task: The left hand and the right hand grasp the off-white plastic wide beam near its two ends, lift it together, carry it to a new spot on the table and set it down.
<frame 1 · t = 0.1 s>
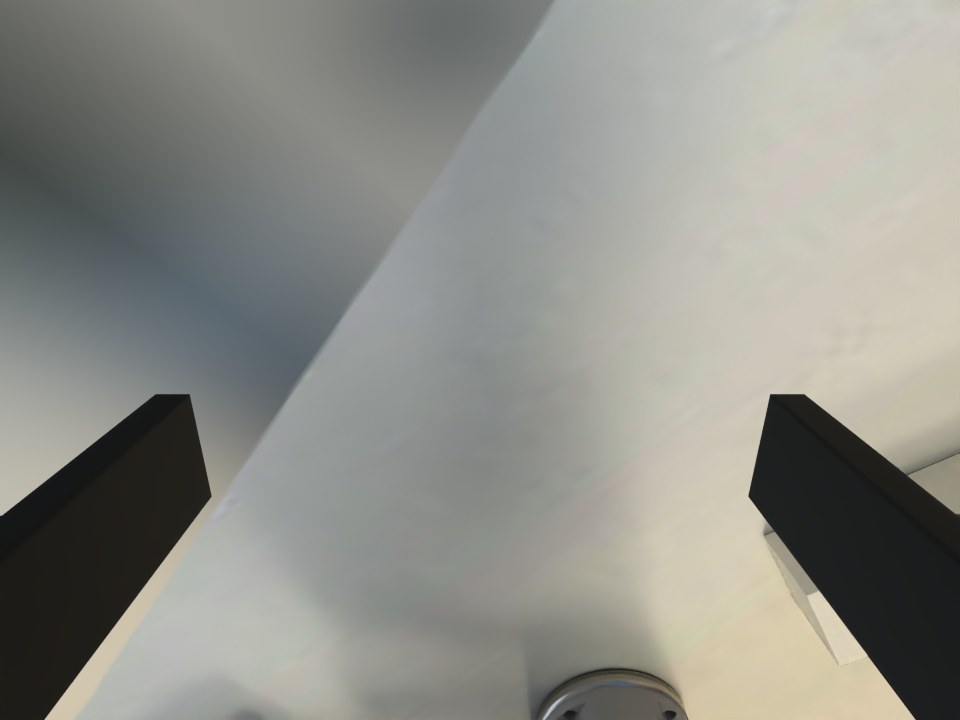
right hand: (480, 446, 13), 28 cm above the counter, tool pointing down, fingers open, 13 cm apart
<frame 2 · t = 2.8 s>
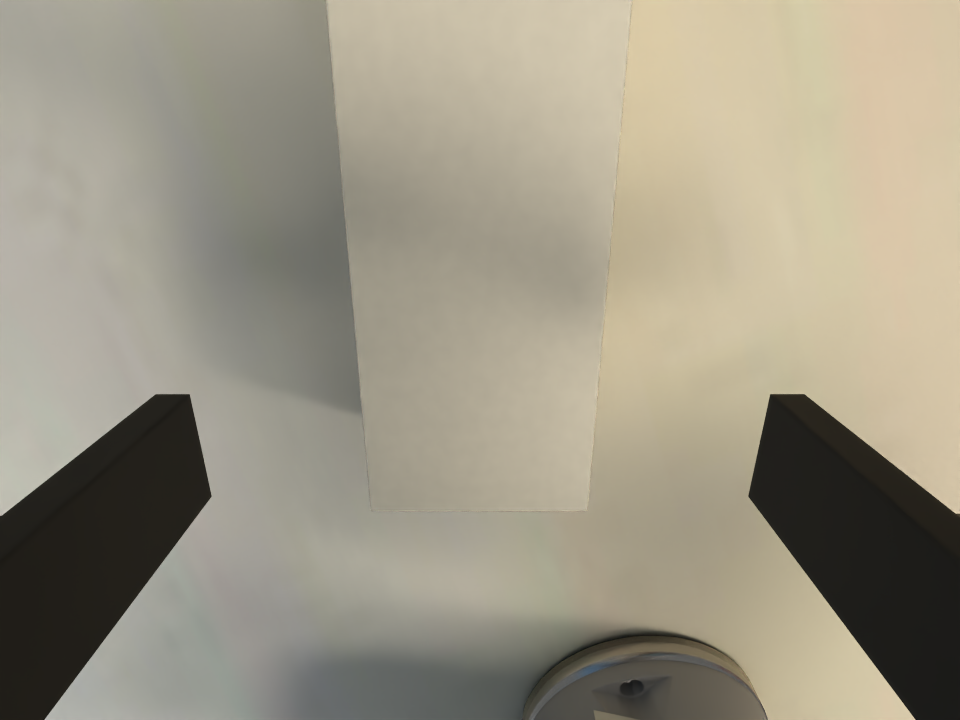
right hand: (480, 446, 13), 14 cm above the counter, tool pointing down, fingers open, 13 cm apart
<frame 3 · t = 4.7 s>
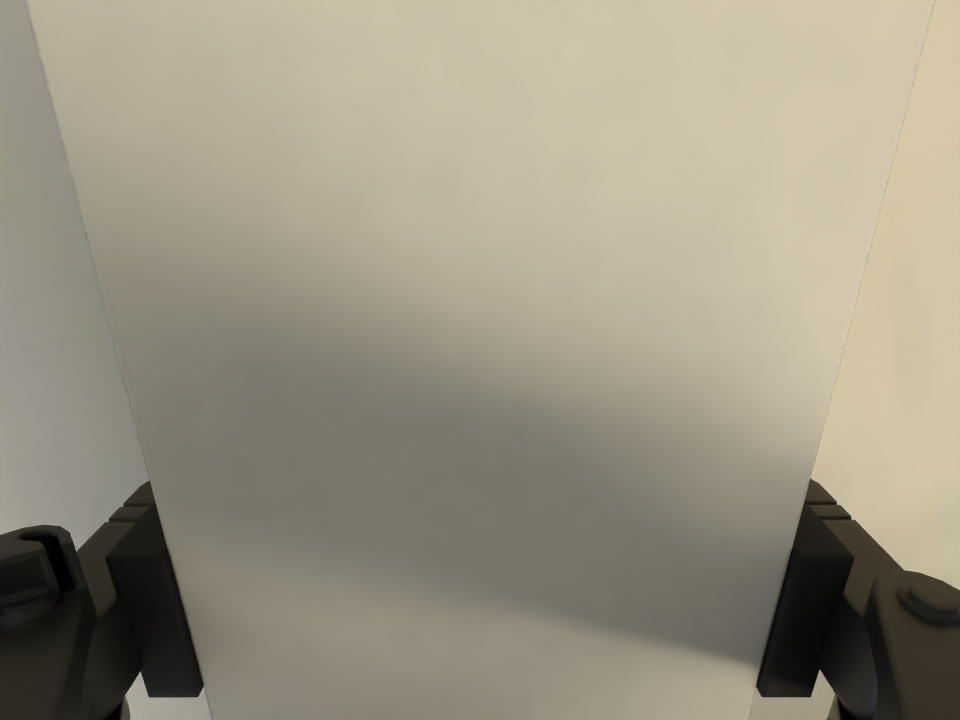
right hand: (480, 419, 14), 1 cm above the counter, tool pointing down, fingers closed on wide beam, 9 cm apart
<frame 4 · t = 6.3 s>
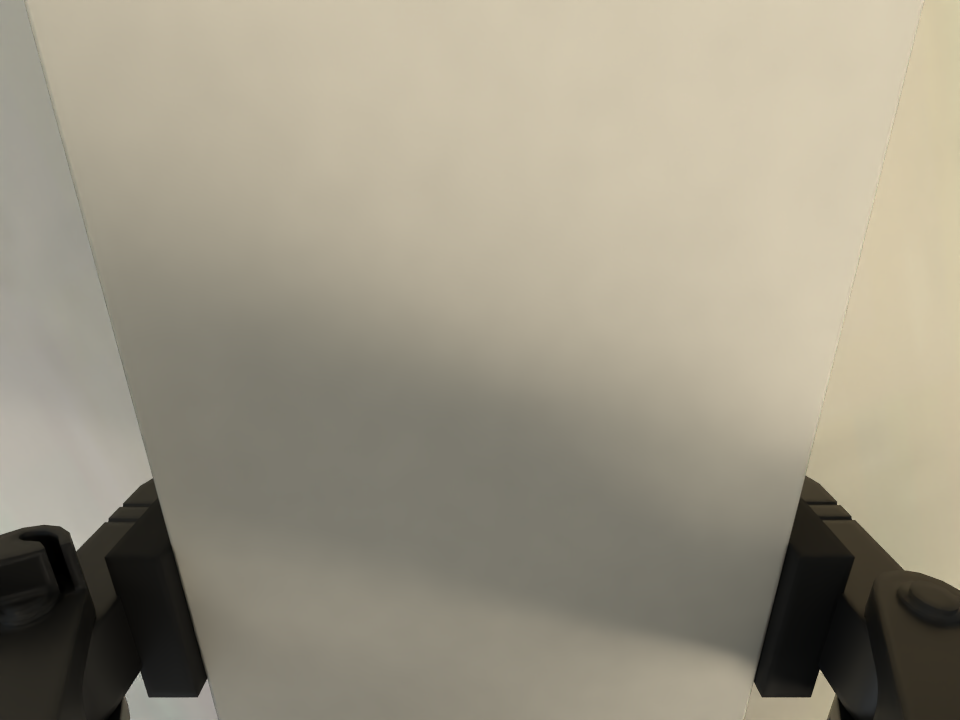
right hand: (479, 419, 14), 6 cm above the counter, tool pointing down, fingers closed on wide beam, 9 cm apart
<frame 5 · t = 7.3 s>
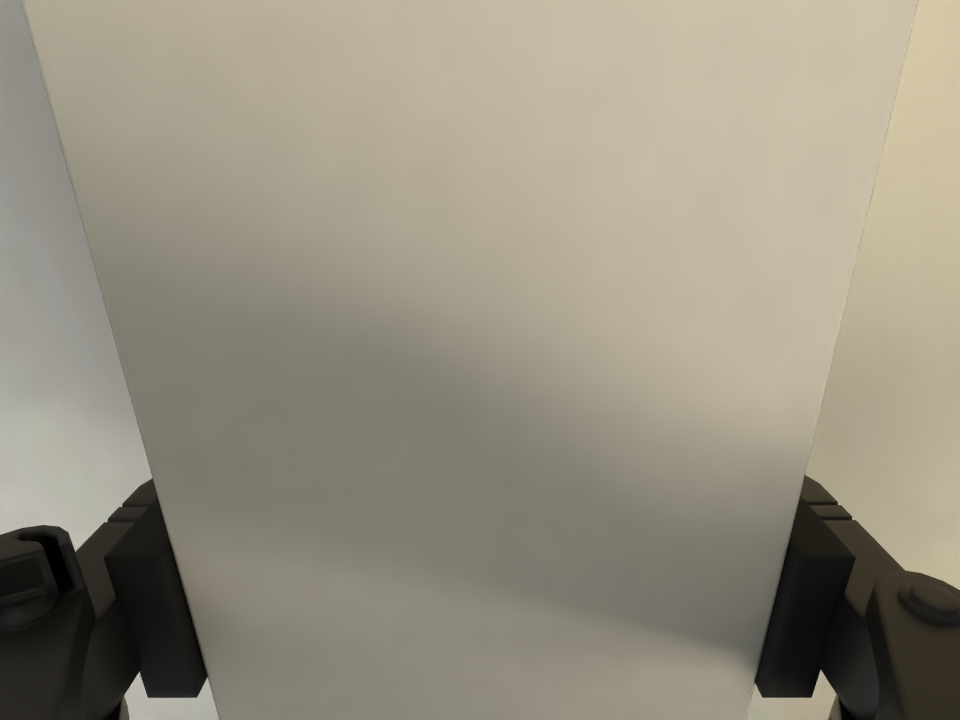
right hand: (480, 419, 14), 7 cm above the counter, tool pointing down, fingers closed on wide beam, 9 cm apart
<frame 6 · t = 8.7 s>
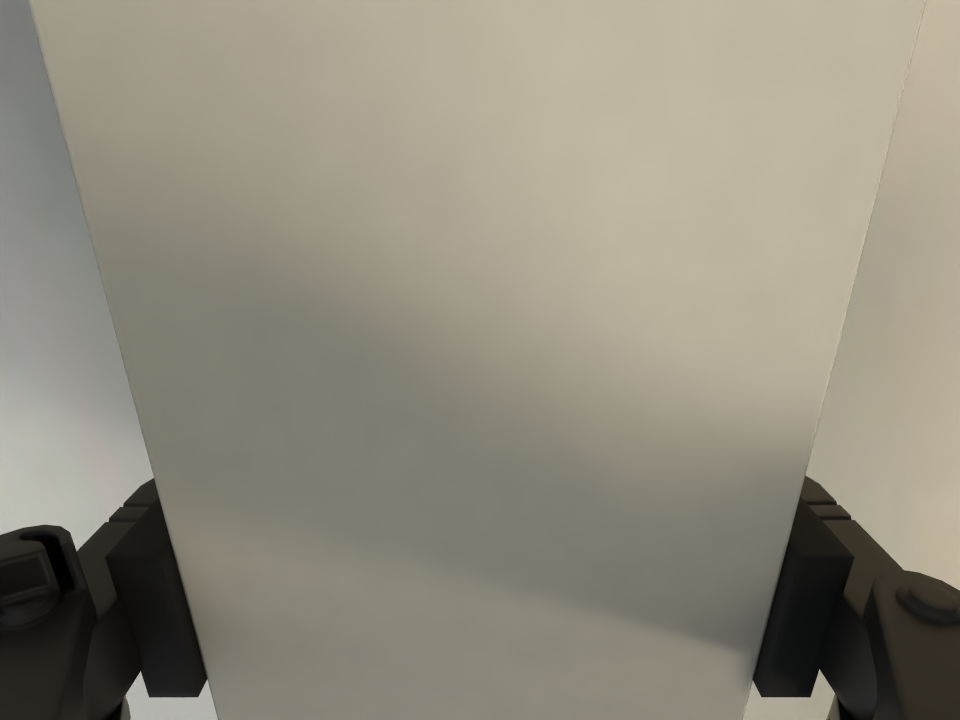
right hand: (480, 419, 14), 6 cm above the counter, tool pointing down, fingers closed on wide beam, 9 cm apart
when the left hand's fingers open (2 cm above the counter, at t = 9.7 s): wide beam drops 1 cm, on the counter.
when the right hand's fingers open (2 cm above the counter, at t = 9.7 s): wide beam drops 1 cm, on the counter.
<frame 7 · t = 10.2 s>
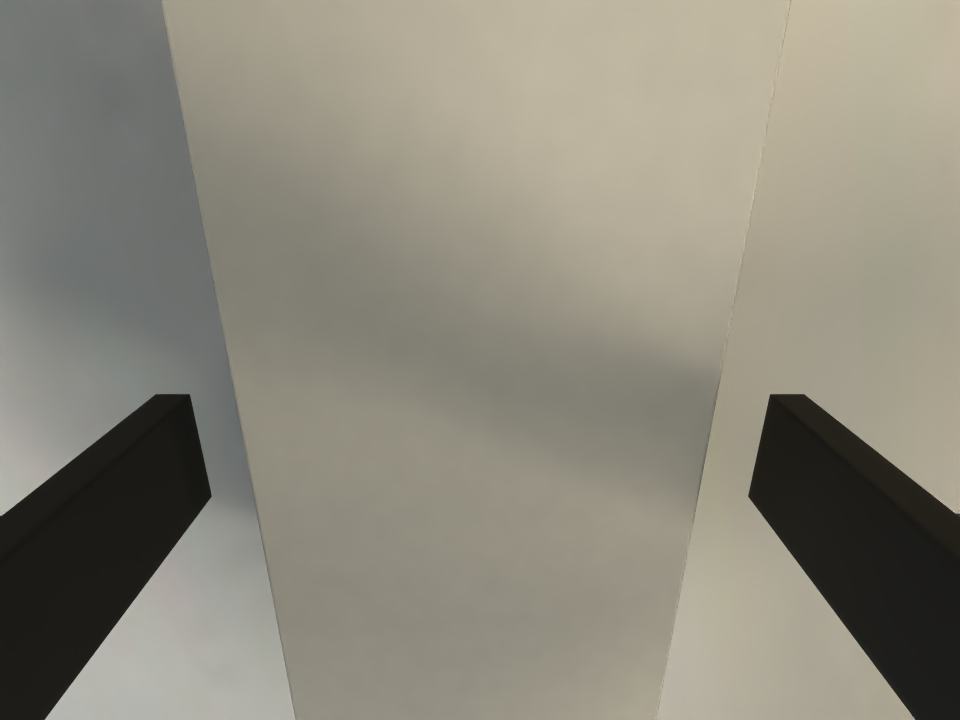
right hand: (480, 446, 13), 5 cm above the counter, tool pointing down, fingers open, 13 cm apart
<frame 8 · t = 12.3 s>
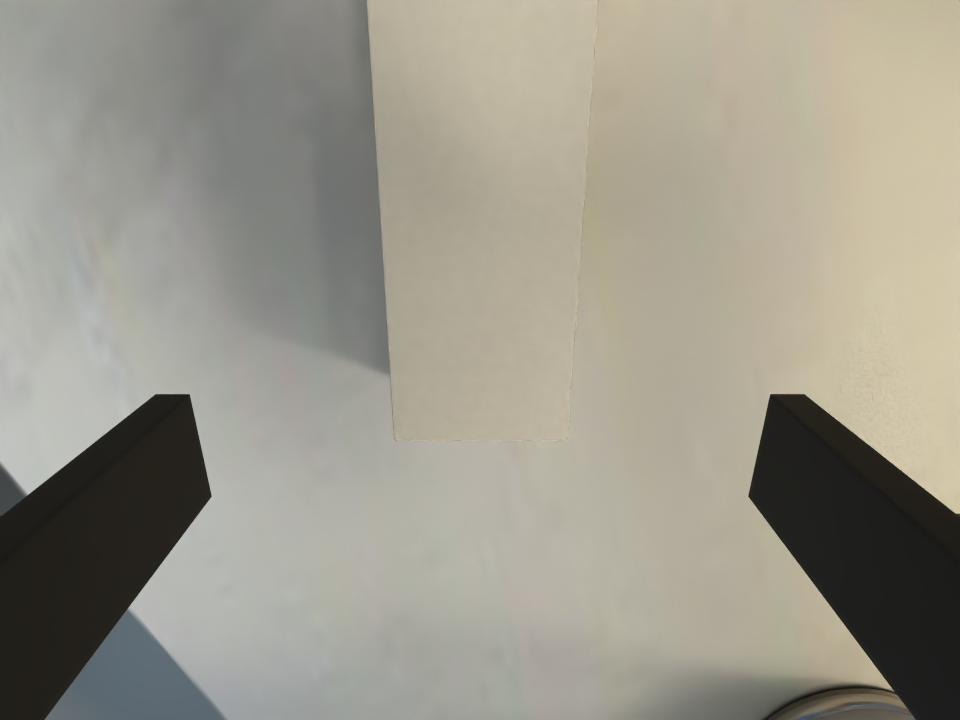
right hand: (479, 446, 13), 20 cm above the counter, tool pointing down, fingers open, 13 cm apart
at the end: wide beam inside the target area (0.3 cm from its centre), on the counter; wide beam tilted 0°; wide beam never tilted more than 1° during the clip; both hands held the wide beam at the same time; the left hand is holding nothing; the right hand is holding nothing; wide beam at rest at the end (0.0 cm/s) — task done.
